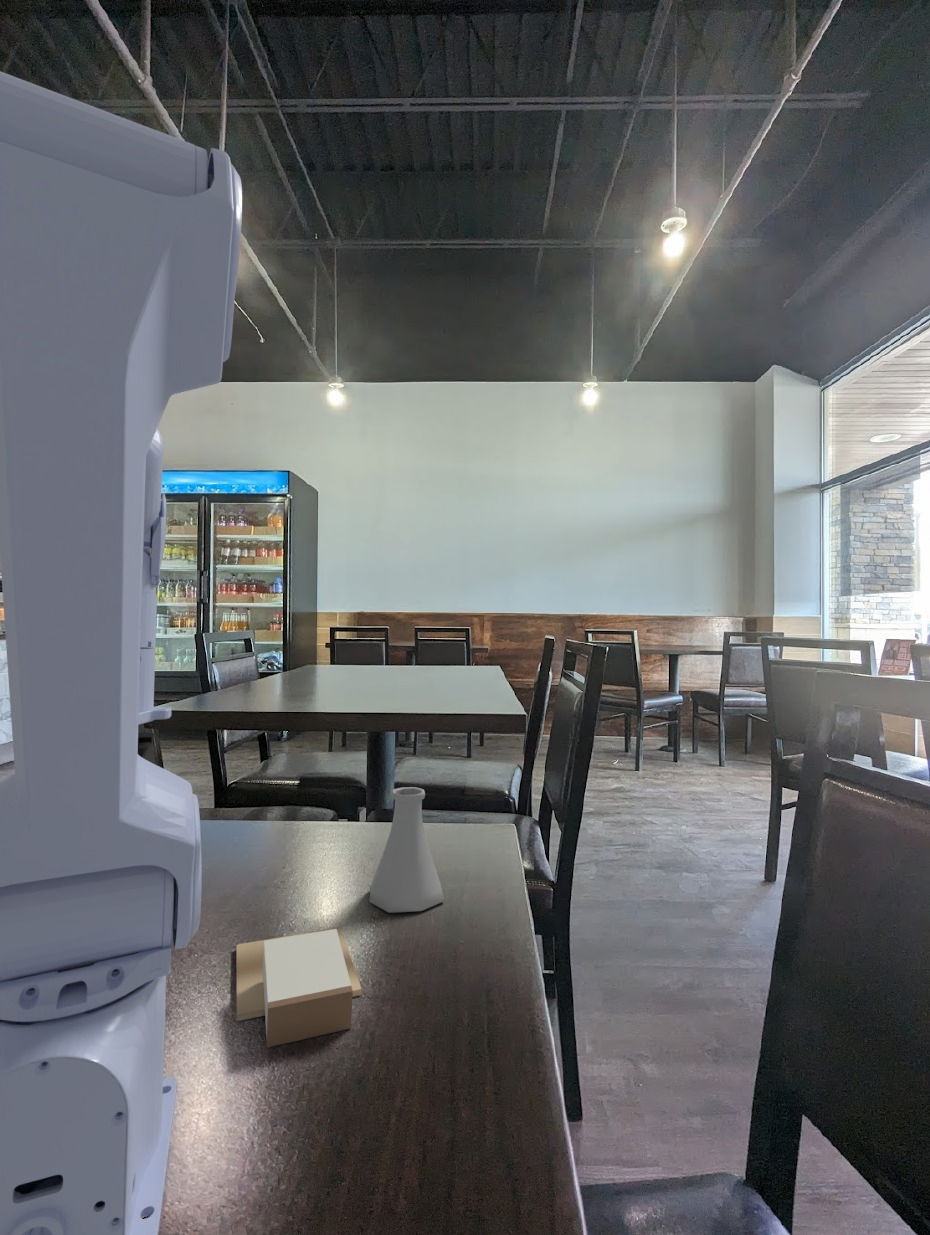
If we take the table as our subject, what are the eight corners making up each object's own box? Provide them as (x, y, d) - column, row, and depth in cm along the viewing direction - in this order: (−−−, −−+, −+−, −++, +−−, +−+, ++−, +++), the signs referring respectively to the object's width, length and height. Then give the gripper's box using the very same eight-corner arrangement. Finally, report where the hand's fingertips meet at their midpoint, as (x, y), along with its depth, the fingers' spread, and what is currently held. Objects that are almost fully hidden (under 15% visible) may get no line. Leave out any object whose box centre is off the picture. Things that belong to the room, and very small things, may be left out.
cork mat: (361, 994, 40) (361, 989, 40) (236, 1021, 37) (236, 1015, 37) (339, 932, 48) (339, 927, 48) (236, 949, 45) (236, 944, 46)
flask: (358, 889, 57) (360, 785, 57) (426, 876, 60) (428, 778, 60) (382, 922, 50) (384, 805, 51) (457, 906, 54) (459, 796, 54)
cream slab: (335, 961, 43) (350, 1028, 37) (262, 974, 41) (267, 1047, 35) (336, 928, 42) (352, 990, 36) (263, 940, 41) (268, 1008, 35)
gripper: (161, 651, 36) (153, 872, 36) (181, 646, 50) (176, 806, 49) (24, 650, 34) (14, 889, 33) (84, 645, 47) (78, 815, 47)
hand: (103, 841), depth 41 cm, fingers closed
